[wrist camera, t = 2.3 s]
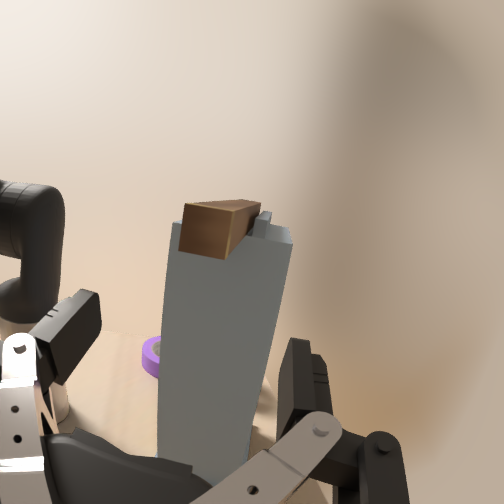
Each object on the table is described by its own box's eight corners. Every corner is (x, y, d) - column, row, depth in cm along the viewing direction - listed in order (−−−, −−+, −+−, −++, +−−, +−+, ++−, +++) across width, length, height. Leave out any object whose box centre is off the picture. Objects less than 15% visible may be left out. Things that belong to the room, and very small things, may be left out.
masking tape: (201, 384, 55) (203, 367, 54) (139, 378, 52) (140, 362, 51) (196, 353, 66) (198, 338, 65) (143, 348, 63) (144, 332, 62)
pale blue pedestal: (148, 475, 31) (160, 202, 24) (180, 408, 46) (205, 200, 40) (240, 498, 30) (309, 229, 24) (251, 424, 46) (298, 216, 39)
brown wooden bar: (177, 251, 16) (184, 203, 15) (238, 218, 39) (241, 199, 39) (224, 260, 15) (232, 211, 15) (257, 222, 39) (261, 202, 39)
